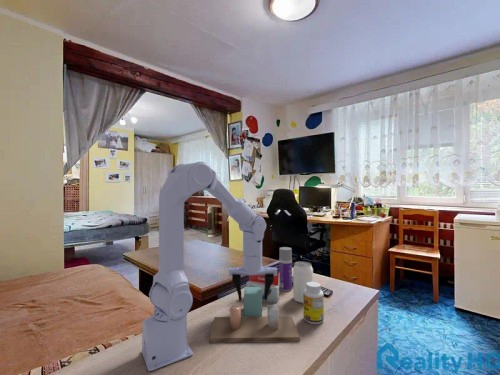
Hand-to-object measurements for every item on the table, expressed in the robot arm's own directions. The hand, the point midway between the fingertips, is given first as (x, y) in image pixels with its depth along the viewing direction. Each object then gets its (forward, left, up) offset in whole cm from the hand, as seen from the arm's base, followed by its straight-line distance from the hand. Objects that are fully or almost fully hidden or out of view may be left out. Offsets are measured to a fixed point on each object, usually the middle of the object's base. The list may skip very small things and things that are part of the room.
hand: (252, 299), depth 76 cm
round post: (-9, -6, -4) cm, 12 cm away
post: (-1, -11, -3) cm, 11 cm away
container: (+20, +8, -4) cm, 22 cm away
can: (+19, -2, -4) cm, 20 cm away
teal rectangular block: (0, 0, -4) cm, 4 cm away
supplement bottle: (+12, -13, -4) cm, 18 cm away
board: (-5, -8, -4) cm, 10 cm away
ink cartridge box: (+8, +6, -4) cm, 11 cm away
